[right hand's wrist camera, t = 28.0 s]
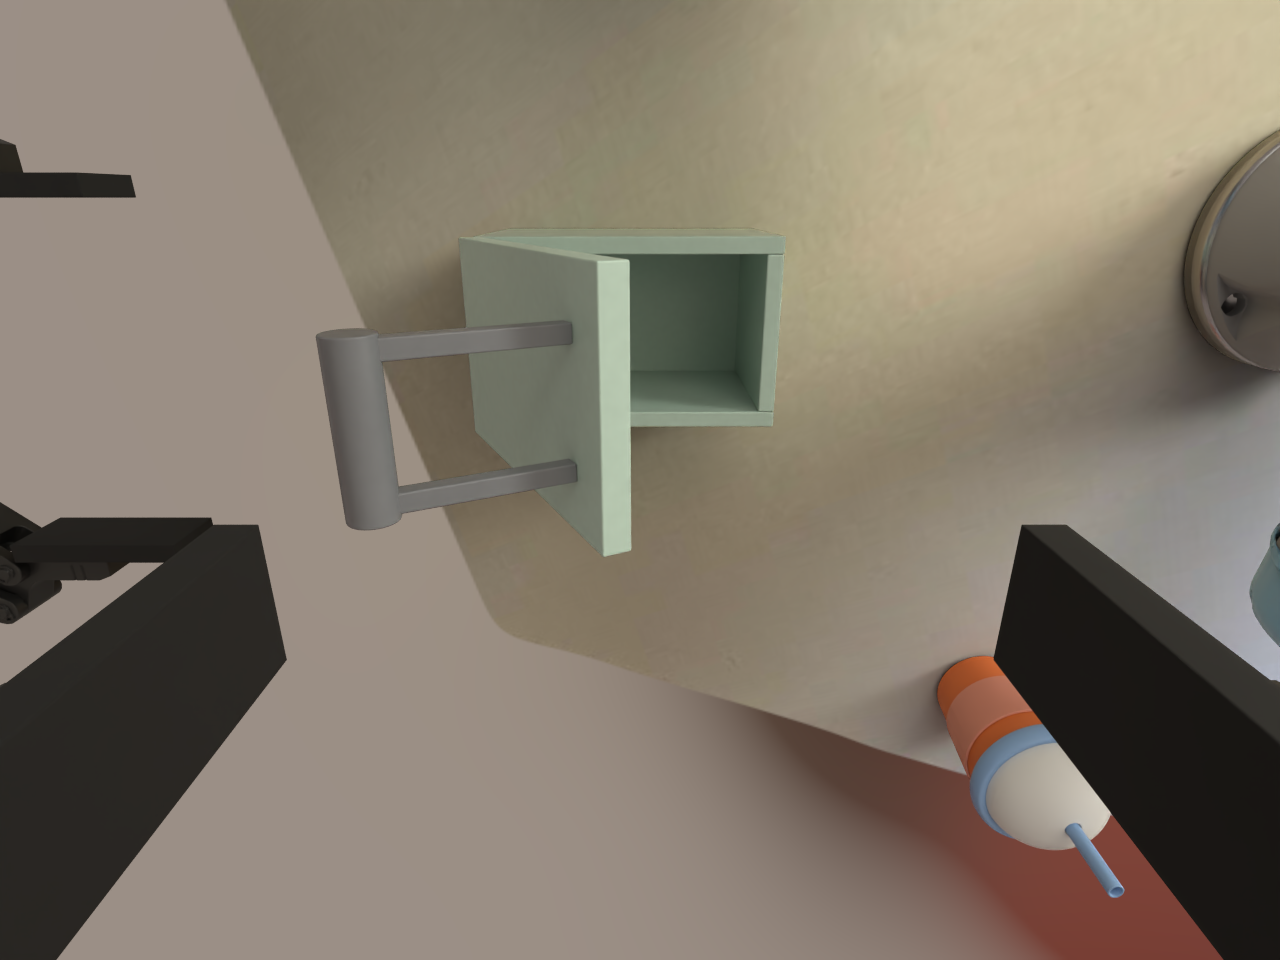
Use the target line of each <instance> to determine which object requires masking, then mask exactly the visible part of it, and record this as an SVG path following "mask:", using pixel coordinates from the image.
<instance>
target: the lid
mask: <svg viewBox="0 0 1280 960" xmlns="http://www.w3.org/2000/svg"><path fill="white" fill-rule="evenodd" d="M459 249H460V261H461V272H462V284H463V295H464V307H465V318H466V328H454V329H441V330H428V331H415V332H402V333H389V334H378V332H377V331H376V330H372V329H359V328H356V329H338V330H330V331H325V332H321V333H319V334H317V335H316V341H317V347H318V353H319V359H320V366H321V372H322V378H323V384H324V390H325V396H326V403H327V409H328V415H329V421H330V427H331V433H332V439H333V446H334V452H335V458H336V464H337V470H338V476H339V483H340V489H341V495H342V501H343V507H344V513H345V519H346V524H347V525H348V526H349V527H350V528H352V529H356V530H375V529H381V528H385V527H388V526H391V525H393V524H395V523H397V522H398V521H399V520H400V519H401V517H402V514H403V513H408V512H414V511H419V510H425V509H431V508H436V507H442V506H447V505H453V504H458V503H464V502H469V501H475V500H480V499H486V498H491V497H497V496H502V495H508V494H513V493H519V492H524V491H530V490H535V491H536V492H537V493H538V494H539V495H540V496H541V497H542V498H543V499H544V500H545V501H546V502H547V503H548V504H549V505H550V506H551V507H552V508H554V509H555V510H556V511H557V512H558V513H559V514H560V515H561V516H562V517H563V518H564V519H565V520H566V521H567V522H568V523H569V524H570V525H571V526H572V527H573V528H574V529H575V530H576V531H577V532H578V533H579V534H580V535H581V536H582V537H583V538H584V539H585V540H586V541H587V542H588V543H589V544H590V545H591V546H592V547H593V548H594V549H595V550H596V551H597V552H598V553H599V554H600V555H601V556H602V557H607V556H611V555H615V554H619V553H624V552H628V551H631V439H630V265H629V260H627V259H621V258H614V257H608V256H601V255H595V254H588V253H582V252H575V251H568V250H562V249H555V248H549V247H542V246H536V245H529V244H523V243H516V242H510V241H503V240H496V239H490V238H483V237H460V238H459ZM462 354H469V364H470V376H471V387H472V399H473V410H474V422H475V432H476V433H477V434H478V435H479V436H480V437H481V438H482V439H483V440H484V441H485V442H486V443H487V444H488V445H489V446H490V447H491V448H492V449H493V450H494V451H495V452H496V453H497V454H498V455H500V456H501V457H502V458H503V459H504V460H505V461H506V462H507V463H508V464H509V465H510V466H511V467H512V468H509V469H503V470H497V471H491V472H485V473H478V474H472V475H466V476H460V477H454V478H448V479H442V480H436V481H430V482H424V483H418V484H412V485H406V486H400V487H398V479H397V472H396V464H395V456H394V449H393V441H392V434H391V426H390V418H389V411H388V403H387V395H386V388H385V380H384V372H383V365H382V362H386V361H397V360H408V359H419V358H429V357H440V356H451V355H462Z"/></svg>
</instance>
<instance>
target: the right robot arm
mask: <svg viewBox="0 0 1280 960" xmlns="http://www.w3.org/2000/svg"><path fill="white" fill-rule="evenodd" d="M1184 288H1185V296H1186V301H1187V305H1188V309H1189V312H1190V315H1191V317H1192V319H1193V321H1194V323H1195V325H1196V327H1197V329H1198V330H1199V332H1200V333H1201V335H1202V336H1203V337H1204V338H1205V339H1206V340H1207V342H1208V343H1209V344H1211V345H1212V346H1213V347H1214V348H1215V349H1216V350H1218V351H1219V352H1221V353H1222V354H1224V355H1226V356H1228V357H1230V358H1232V359H1234V360H1237V361H1239V362H1242V363H1245V364H1249V365H1253V366H1257V367H1260V368H1264V369H1268V370H1272V371H1277V372H1280V130H1279V131H1278V132H1276V133H1274V134H1272V135H1271V136H1270V137H1268V138H1267V139H1265V140H1264V141H1262V142H1261V143H1259V144H1258V145H1257V146H1256V147H1255V148H1253V149H1252V150H1251V151H1250V152H1248V153H1247V154H1246V155H1245V156H1244V157H1243V158H1242V159H1241V160H1240V161H1239V162H1238V163H1237V164H1236V165H1235V166H1234V167H1233V168H1232V169H1231V170H1230V171H1229V172H1228V174H1227V175H1226V176H1225V177H1224V178H1223V180H1222V181H1221V182H1220V184H1219V185H1218V186H1217V188H1216V189H1215V190H1214V192H1213V193H1212V195H1211V196H1210V198H1209V200H1208V201H1207V203H1206V205H1205V207H1204V208H1203V210H1202V212H1201V214H1200V216H1199V218H1198V221H1197V223H1196V225H1195V228H1194V230H1193V233H1192V236H1191V239H1190V243H1189V246H1188V250H1187V255H1186V261H1185V270H1184ZM1250 597H1251V601H1252V609H1253V612H1254V614H1255V616H1256V618H1257V620H1258V621H1259V623H1260V625H1261V626H1262V628H1263V629H1264V630H1265V631H1266V633H1267V634H1268V635H1269V636H1270V637H1271V638H1272V640H1273V641H1274V642H1275V643H1276V644H1277V645H1278V646H1279V647H1280V523H1279V524H1278V525H1277V527H1276V528H1275V529H1274V531H1273V533H1272V535H1271V541H1270V548H1269V550H1268V552H1267V554H1266V555H1265V557H1264V559H1263V561H1262V563H1261V565H1260V567H1259V568H1258V570H1257V572H1256V574H1255V576H1254V578H1253V580H1252V582H1251V586H1250ZM286 660H287V659H286V654H285V650H284V645H283V640H282V636H281V631H280V626H279V621H278V616H277V612H276V607H275V602H274V597H273V593H272V588H271V583H270V578H269V574H268V569H267V564H266V559H265V555H264V550H263V545H262V541H261V536H260V531H259V526H258V525H213V526H211V527H210V528H209V529H208V530H206V531H205V532H204V533H202V534H201V535H200V536H198V537H197V538H196V539H194V540H193V541H192V542H190V543H189V544H188V545H187V546H185V547H184V548H183V549H181V550H180V551H179V552H177V553H176V554H175V555H173V556H172V557H171V558H170V559H168V560H167V561H166V562H164V563H163V564H162V565H160V566H159V567H158V568H156V569H155V570H154V571H152V572H151V573H150V574H149V575H147V576H146V577H145V578H143V579H142V580H141V581H139V582H138V583H137V584H135V585H134V586H133V587H132V588H130V589H129V590H128V591H126V592H125V593H124V594H122V595H121V596H120V597H118V598H117V599H116V600H114V601H113V602H112V603H111V604H109V605H108V606H107V607H105V608H104V609H103V610H101V611H100V612H99V613H97V614H96V615H95V616H93V617H92V618H91V619H89V620H88V621H87V622H86V623H84V624H83V625H82V626H80V627H79V628H78V629H76V630H75V631H74V632H73V633H71V634H70V635H69V636H67V637H66V638H65V639H63V640H62V641H61V642H59V643H58V644H57V645H55V646H54V647H53V648H52V649H50V650H49V651H48V652H46V653H45V654H44V655H42V656H41V657H40V658H38V659H37V660H36V661H34V662H33V663H32V664H30V665H29V666H28V667H27V668H25V669H24V670H23V671H21V672H20V673H19V674H17V675H16V676H15V677H13V678H12V679H11V680H9V681H8V682H7V683H4V684H2V685H0V960H56V959H57V958H58V957H59V956H60V954H61V953H62V952H63V950H64V949H65V948H66V946H67V945H68V944H69V942H70V941H71V940H72V939H73V937H74V936H75V935H76V933H77V932H78V931H79V930H80V928H81V927H82V926H83V924H84V923H85V922H86V920H87V919H88V918H89V917H90V915H91V914H92V913H93V911H94V910H95V909H96V907H97V906H98V905H99V903H100V902H101V901H102V900H103V898H104V897H105V896H106V894H107V893H108V892H109V890H110V889H111V888H112V887H113V885H114V884H115V883H116V881H117V880H118V879H119V877H120V876H121V875H122V874H123V872H124V871H125V870H126V868H127V867H128V866H129V864H130V863H131V862H132V860H133V859H134V858H135V857H136V855H137V854H138V853H139V851H140V850H141V849H142V848H143V846H144V845H145V844H146V842H147V841H148V840H149V838H150V837H151V836H152V834H153V833H154V832H155V831H156V829H157V828H158V827H159V825H160V824H161V823H162V821H163V820H164V819H165V818H166V816H167V815H168V814H169V812H170V811H171V810H172V808H173V807H174V806H175V805H176V803H177V802H178V801H179V799H180V798H181V797H182V795H183V794H184V793H185V792H186V790H187V789H188V788H189V786H190V785H191V784H192V782H193V781H194V780H195V778H196V777H197V776H198V775H199V773H200V772H201V771H202V769H203V768H204V767H205V765H206V764H207V763H208V762H209V760H210V759H211V758H212V756H213V755H214V754H215V752H216V751H217V750H218V749H219V747H220V746H221V745H222V743H223V742H224V741H225V739H226V738H227V737H228V736H229V734H230V733H231V732H232V730H233V729H234V728H235V726H236V725H237V724H238V723H239V721H240V720H241V719H242V717H243V716H244V715H245V713H246V712H247V711H248V710H249V708H250V707H251V706H252V704H253V703H254V702H255V700H256V699H257V698H258V697H259V695H260V694H261V693H262V691H263V690H264V689H265V687H266V686H267V685H268V683H269V682H270V681H271V680H272V678H273V677H274V676H275V674H276V673H277V672H278V670H279V669H280V668H281V667H282V665H283V664H284V663H285V661H286ZM993 660H994V661H995V663H996V664H997V665H998V667H999V668H1000V669H1001V670H1002V672H1003V673H1004V674H1005V676H1006V677H1007V678H1008V680H1009V681H1010V682H1011V684H1012V685H1013V686H1014V687H1015V689H1016V690H1017V691H1018V693H1019V694H1020V695H1021V697H1022V698H1023V699H1024V700H1025V702H1026V703H1027V704H1028V706H1029V707H1030V708H1031V710H1032V711H1033V712H1034V713H1035V715H1036V716H1037V717H1038V719H1039V720H1040V721H1041V723H1042V724H1043V725H1044V726H1045V728H1046V729H1047V730H1048V732H1049V733H1050V734H1051V736H1052V737H1053V738H1054V739H1055V741H1056V742H1057V743H1058V745H1059V746H1060V747H1061V749H1062V750H1063V751H1064V753H1065V754H1066V755H1067V756H1068V758H1069V759H1070V760H1071V762H1072V763H1073V764H1074V766H1075V767H1076V768H1077V769H1078V771H1079V772H1080V773H1081V775H1082V776H1083V777H1084V779H1085V780H1086V781H1087V782H1088V784H1089V785H1090V786H1091V788H1092V789H1093V790H1094V792H1095V793H1096V794H1097V795H1098V797H1099V798H1100V799H1101V801H1102V802H1103V803H1104V805H1105V806H1106V807H1107V808H1108V810H1109V811H1110V812H1111V814H1112V815H1113V816H1114V818H1115V819H1116V820H1117V821H1118V823H1119V824H1120V825H1121V827H1122V828H1123V829H1124V831H1125V832H1126V833H1127V834H1128V836H1129V837H1130V838H1131V840H1132V841H1133V842H1134V844H1135V845H1136V846H1137V848H1138V849H1139V850H1140V851H1141V853H1142V854H1143V855H1144V857H1145V858H1146V859H1147V861H1148V862H1149V863H1150V864H1151V866H1152V867H1153V868H1154V870H1155V871H1156V872H1157V874H1158V875H1159V876H1160V877H1161V879H1162V880H1163V881H1164V883H1165V884H1166V885H1167V887H1168V888H1169V889H1170V890H1171V892H1172V893H1173V894H1174V896H1175V897H1176V898H1177V900H1178V901H1179V902H1180V904H1181V905H1182V906H1183V907H1184V909H1185V910H1186V911H1187V913H1188V914H1189V915H1190V917H1191V918H1192V919H1193V920H1194V922H1195V923H1196V924H1197V926H1198V927H1199V928H1200V929H1201V931H1202V932H1203V933H1204V935H1205V936H1206V937H1207V939H1208V940H1209V941H1210V943H1211V944H1212V945H1213V946H1214V948H1215V949H1216V950H1217V952H1218V953H1219V954H1220V956H1221V957H1222V958H1223V959H1224V960H1280V682H1278V681H1276V680H1269V679H1268V678H1267V677H1265V676H1264V675H1263V674H1261V673H1260V672H1259V671H1257V670H1256V669H1255V668H1253V667H1252V666H1251V665H1250V664H1248V663H1247V662H1246V661H1244V660H1243V659H1242V658H1240V657H1239V656H1238V655H1236V654H1235V653H1234V652H1233V651H1231V650H1230V649H1229V648H1227V647H1226V646H1225V645H1223V644H1222V643H1221V642H1219V641H1218V640H1217V639H1215V638H1214V637H1213V636H1212V635H1210V634H1209V633H1208V632H1206V631H1205V630H1204V629H1202V628H1201V627H1200V626H1198V625H1197V624H1196V623H1194V622H1193V621H1192V620H1191V619H1189V618H1188V617H1187V616H1185V615H1184V614H1183V613H1181V612H1180V611H1179V610H1177V609H1176V608H1175V607H1173V606H1172V605H1171V604H1170V603H1168V602H1167V601H1166V600H1164V599H1163V598H1162V597H1160V596H1159V595H1158V594H1156V593H1155V592H1154V591H1152V590H1151V589H1150V588H1149V587H1147V586H1146V585H1145V584H1143V583H1142V582H1141V581H1139V580H1138V579H1137V578H1135V577H1134V576H1133V575H1131V574H1130V573H1129V572H1128V571H1126V570H1125V569H1124V568H1122V567H1121V566H1120V565H1118V564H1117V563H1116V562H1114V561H1113V560H1112V559H1110V558H1109V557H1108V556H1107V555H1105V554H1104V553H1103V552H1101V551H1100V550H1099V549H1097V548H1096V547H1095V546H1093V545H1092V544H1091V543H1090V542H1088V541H1087V540H1086V539H1084V538H1083V537H1082V536H1080V535H1079V534H1078V533H1076V532H1075V531H1074V530H1072V529H1071V528H1070V527H1069V526H1067V525H1022V526H1021V531H1020V536H1019V540H1018V545H1017V550H1016V555H1015V559H1014V564H1013V569H1012V574H1011V578H1010V583H1009V588H1008V593H1007V597H1006V602H1005V607H1004V612H1003V616H1002V621H1001V626H1000V631H999V635H998V640H997V645H996V650H995V654H994V659H993Z"/></svg>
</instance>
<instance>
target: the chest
mask: <svg viewBox="0 0 1280 960" xmlns="http://www.w3.org/2000/svg"><path fill="white" fill-rule="evenodd" d="M474 237H483V238H490V239H496V240H503V241H510V242H516V243H523V244H529V245H536V246H542V247H549V248H555V249H562V250H568V251H575V252H582V253H588V254H595V255H601V256H608V257H614V258H621V259H627V260H629V265H630V427H772V426H773V415H774V413H773V410H774V399H775V385H776V370H777V356H778V341H779V326H780V312H781V297H782V283H783V268H784V255H783V254H784V253H785V240H786V237H785V236H782V235H778V234H774V233H770V232H766V231H762V230H758V229H753V228H510V229H505V230H501V231H496V232H492V233H487V234H483V235H478V236H474Z"/></svg>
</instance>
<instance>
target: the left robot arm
mask: <svg viewBox="0 0 1280 960" xmlns="http://www.w3.org/2000/svg"><path fill="white" fill-rule="evenodd" d="M0 197H136V196H135V192H134V187H133V183H132V179H131V175H114V174H93V173H23V170H22V166H21V163H20V159H19V156H18V152H17V149H16V145H14V144H12V143H9V142H6V141H4V140H1V139H0ZM211 526H213V523H212V519H211V518H59V519H57V520H55V521H53V522H52V523H50V524H48V525H46V526H44V527H42V528H41V527H40V526H38V525H36V524H35V523H33V522H32V521H30V520H28V519H27V518H25V517H23V516H22V515H20V514H18V513H17V512H15V511H14V510H12V509H10V508H9V507H7V506H5V505H4V504H2V503H1V502H0V623H5V624H12V623H14V622H16V621H17V620H19V619H20V618H22V617H23V616H25V615H26V614H28V613H29V612H31V611H32V610H34V609H35V608H37V607H38V606H40V605H41V604H43V603H44V602H46V601H47V600H49V599H50V598H51V597H53V596H54V595H56V594H57V593H59V592H60V591H61V589H62V583H61V581H60V580H102V579H104V578H107V577H109V576H111V575H113V574H114V573H115V572H117V571H118V570H120V569H121V568H123V567H124V566H125V565H127V564H128V563H130V562H131V563H133V562H135V563H136V562H137V563H138V562H139V563H142V562H143V563H144V562H145V563H148V562H149V563H151V562H152V563H158V562H159V563H160V562H162V563H164V562H166V561H167V560H168V559H170V558H171V557H172V556H173V555H175V554H176V553H177V552H179V551H180V550H181V549H183V548H184V547H185V546H187V545H188V544H189V543H190V542H192V541H193V540H194V539H196V538H197V537H198V536H200V535H201V534H202V533H204V532H205V531H206V530H208V529H209V528H210V527H211ZM10 551H11V552H10Z"/></svg>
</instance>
